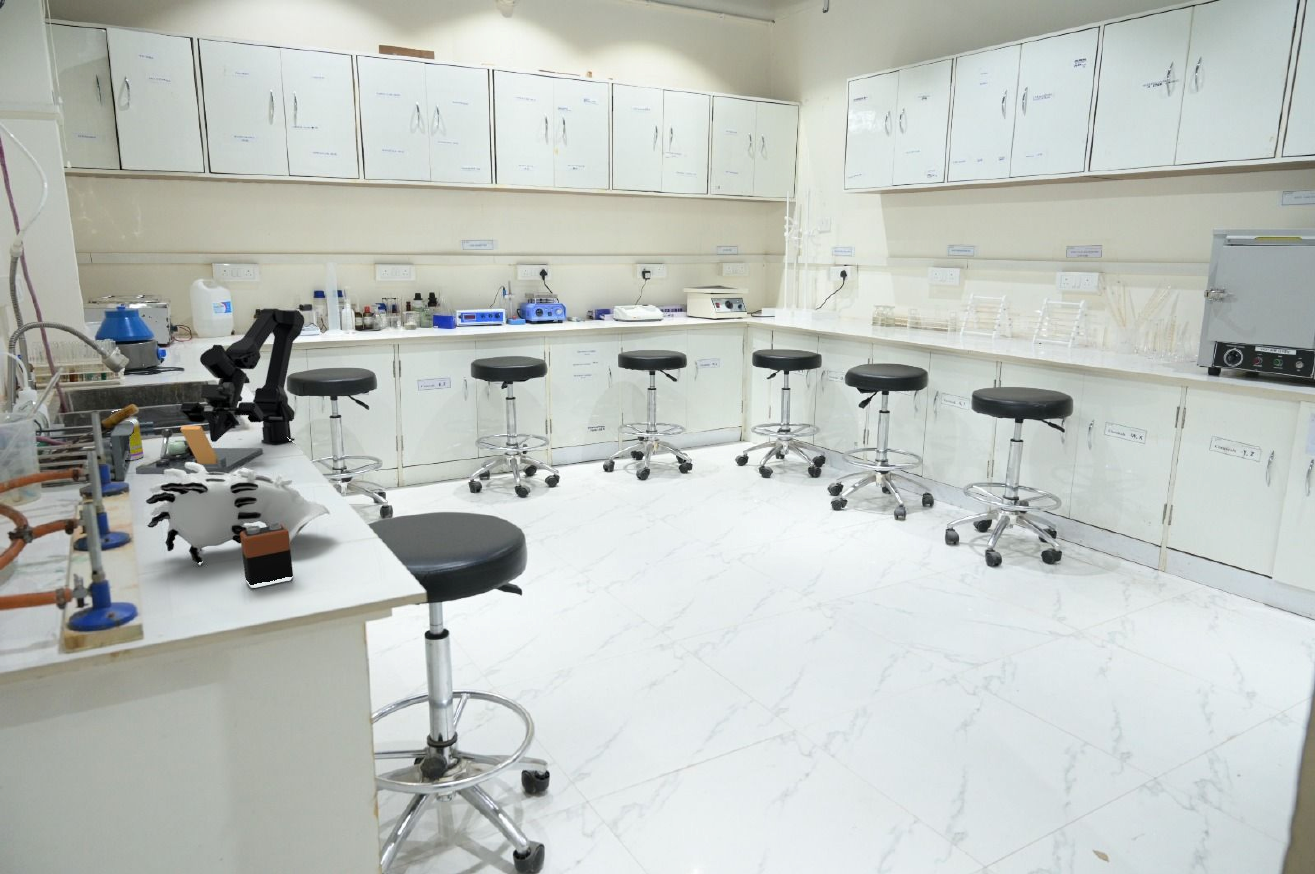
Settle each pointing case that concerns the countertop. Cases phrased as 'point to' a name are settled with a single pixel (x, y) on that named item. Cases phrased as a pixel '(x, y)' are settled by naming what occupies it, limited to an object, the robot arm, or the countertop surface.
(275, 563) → the battery
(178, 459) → the panel
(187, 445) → the labelled grey box
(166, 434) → the toggle
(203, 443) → the paddle
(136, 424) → the yellow bottle
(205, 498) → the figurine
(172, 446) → the button
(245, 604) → the countertop surface
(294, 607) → the countertop surface
